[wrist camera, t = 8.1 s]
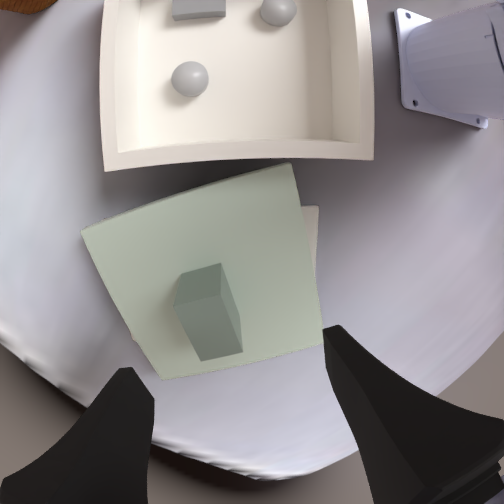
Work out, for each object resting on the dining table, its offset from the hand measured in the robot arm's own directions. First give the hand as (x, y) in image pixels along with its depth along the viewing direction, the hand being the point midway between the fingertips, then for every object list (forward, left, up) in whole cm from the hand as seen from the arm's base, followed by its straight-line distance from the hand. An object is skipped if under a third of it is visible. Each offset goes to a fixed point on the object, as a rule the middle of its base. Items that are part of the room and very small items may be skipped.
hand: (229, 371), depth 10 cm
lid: (+1, +2, -9) cm, 9 cm away
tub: (-1, -13, -10) cm, 17 cm away
